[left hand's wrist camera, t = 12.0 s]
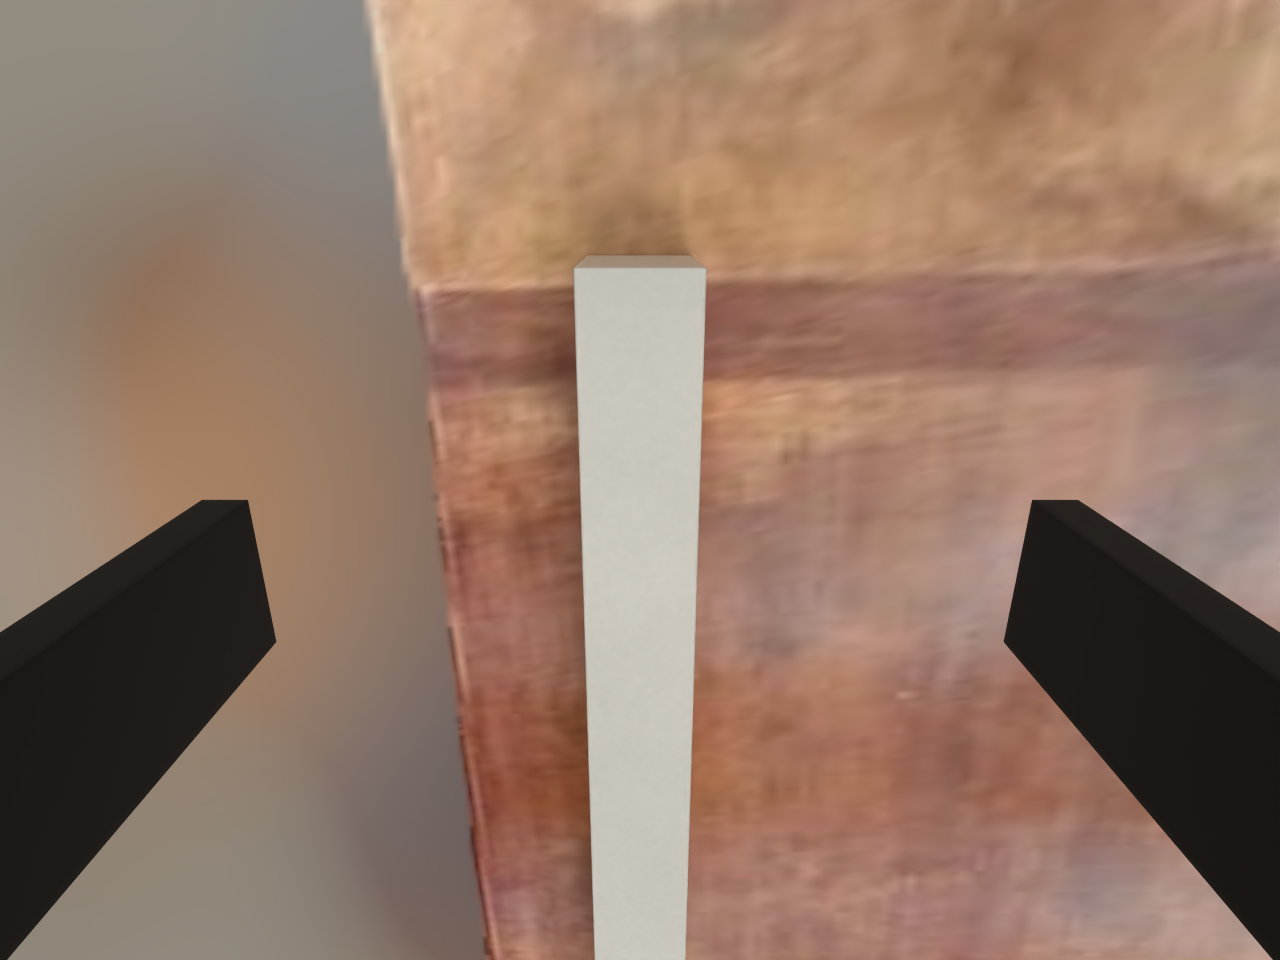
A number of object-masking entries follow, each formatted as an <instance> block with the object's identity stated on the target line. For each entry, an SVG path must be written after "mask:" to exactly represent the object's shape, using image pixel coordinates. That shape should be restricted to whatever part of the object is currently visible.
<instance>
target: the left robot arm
mask: <svg viewBox="0 0 1280 960" xmlns="http://www.w3.org/2000/svg"><path fill="white" fill-rule="evenodd" d="M275 643H276V638H275V633H274V628H273V623H272V618H271V613H270V608H269V603H268V598H267V593H266V588H265V583H264V578H263V573H262V568H261V563H260V558H259V553H258V548H257V543H256V538H255V533H254V529H253V523H252V518H251V513H250V508H249V503H248V500H201V501H200V502H198V503H197V504H195V505H194V506H192V507H191V508H189V509H188V510H186V511H184V512H183V513H181V514H180V515H178V516H177V517H175V518H174V519H172V520H171V521H169V522H168V523H166V524H165V525H163V526H162V527H160V528H159V529H157V530H156V531H154V532H152V533H151V534H149V535H148V536H146V537H145V538H143V539H142V540H140V541H139V542H137V543H136V544H134V545H133V546H131V547H130V548H128V549H127V550H125V551H124V552H122V553H120V554H119V555H117V556H116V557H114V558H113V559H111V560H110V561H108V562H107V563H105V564H104V565H102V566H101V567H99V568H98V569H96V570H95V571H93V572H92V573H90V574H89V575H87V576H85V577H84V578H82V579H81V580H79V581H78V582H76V583H75V584H73V585H72V586H70V587H69V588H67V589H66V590H64V591H63V592H61V593H60V594H58V595H57V596H55V597H53V598H52V599H50V600H49V601H47V602H46V603H44V604H43V605H41V606H40V607H38V608H37V609H35V610H34V611H32V612H31V613H29V614H28V615H26V616H24V617H23V618H21V619H20V620H18V621H17V622H15V623H14V624H12V625H11V626H9V627H8V628H6V629H5V630H3V631H2V632H0V960H7V959H8V958H9V957H10V956H11V955H12V953H13V952H14V951H15V950H16V949H17V947H18V946H19V945H20V944H21V943H22V941H23V940H24V939H25V938H26V937H27V936H28V934H29V933H30V932H31V931H32V930H33V929H34V927H35V926H36V925H37V924H38V923H39V921H40V920H41V919H42V918H43V917H44V916H45V914H46V913H47V912H48V911H49V910H50V908H51V907H52V906H53V905H54V904H55V903H56V901H57V900H58V899H59V898H60V897H61V895H62V894H63V893H64V892H65V891H66V890H67V888H68V887H69V886H70V885H71V884H72V882H73V881H74V880H75V879H76V878H77V877H78V875H79V874H80V873H81V872H82V871H83V870H84V868H85V867H86V866H87V865H88V864H89V862H90V861H91V860H92V859H93V858H94V857H95V855H96V854H97V853H98V852H99V851H100V849H101V848H102V847H103V846H104V845H105V844H106V842H107V841H108V840H109V839H110V838H111V836H112V835H113V834H114V833H115V832H116V831H117V829H118V828H119V827H120V826H121V825H122V823H123V822H124V821H125V820H126V819H127V818H128V816H129V815H130V814H131V813H132V812H133V810H134V809H135V808H136V807H137V806H138V805H139V803H140V802H141V801H142V800H143V799H144V798H145V796H146V795H147V794H148V793H149V792H150V790H151V789H152V788H153V787H154V786H155V785H156V783H157V782H158V781H159V780H160V779H161V777H162V776H163V775H164V774H165V773H166V771H167V770H168V769H169V768H170V767H171V766H172V764H173V763H174V762H175V761H176V760H177V758H178V757H179V756H180V755H181V754H182V753H183V751H184V750H185V749H186V748H187V747H188V746H189V744H190V743H191V742H192V741H193V740H194V738H195V737H196V736H197V735H198V734H199V733H200V731H201V730H202V729H203V728H204V727H205V725H206V724H207V723H208V722H209V721H210V719H211V718H212V717H213V716H214V715H215V714H216V713H217V711H218V710H219V709H220V708H221V707H222V705H223V704H224V703H225V702H226V701H227V699H228V698H229V697H230V696H231V695H232V694H233V692H234V691H235V690H236V689H237V688H238V686H239V685H240V684H241V683H242V682H243V681H244V679H245V678H246V677H247V676H248V675H249V674H250V672H251V671H252V670H253V669H254V668H255V666H256V665H257V664H258V663H259V662H260V661H261V659H262V658H263V657H264V656H265V655H266V653H267V652H268V651H269V650H270V649H271V648H272V646H273V645H274V644H275ZM1004 643H1005V644H1006V645H1007V646H1008V648H1009V649H1010V650H1011V651H1012V652H1013V653H1014V655H1015V656H1016V657H1017V658H1018V659H1019V661H1020V662H1021V663H1022V664H1023V665H1024V666H1025V668H1026V669H1027V670H1028V671H1029V672H1030V674H1031V675H1032V676H1033V677H1034V678H1035V679H1036V681H1037V682H1038V683H1039V684H1040V685H1041V687H1042V688H1043V689H1044V690H1045V691H1046V692H1047V694H1048V695H1049V696H1050V697H1051V698H1052V700H1053V701H1054V702H1055V703H1056V704H1057V705H1058V707H1059V708H1060V709H1061V710H1062V711H1063V713H1064V714H1065V715H1066V716H1067V717H1068V718H1069V720H1070V721H1071V722H1072V723H1073V724H1074V725H1075V727H1076V728H1077V729H1078V730H1079V731H1080V733H1081V734H1082V735H1083V736H1084V737H1085V738H1086V740H1087V741H1088V742H1089V743H1090V744H1091V746H1092V747H1093V748H1094V749H1095V750H1096V751H1097V753H1098V754H1099V755H1100V756H1101V757H1102V759H1103V760H1104V761H1105V762H1106V763H1107V764H1108V766H1109V767H1110V768H1111V769H1112V770H1113V772H1114V773H1115V774H1116V775H1117V776H1118V777H1119V779H1120V780H1121V781H1122V782H1123V783H1124V785H1125V786H1126V787H1127V788H1128V789H1129V790H1130V792H1131V793H1132V794H1133V795H1134V796H1135V798H1136V799H1137V800H1138V801H1139V802H1140V803H1141V805H1142V806H1143V807H1144V808H1145V809H1146V810H1147V812H1148V813H1149V814H1150V815H1151V816H1152V818H1153V819H1154V820H1155V821H1156V822H1157V823H1158V825H1159V826H1160V827H1161V828H1162V829H1163V831H1164V832H1165V833H1166V834H1167V835H1168V836H1169V838H1170V839H1171V840H1172V841H1173V842H1174V844H1175V845H1176V846H1177V847H1178V848H1179V849H1180V851H1181V852H1182V853H1183V854H1184V855H1185V857H1186V858H1187V859H1188V860H1189V861H1190V862H1191V864H1192V865H1193V866H1194V867H1195V868H1196V870H1197V871H1198V872H1199V873H1200V874H1201V875H1202V877H1203V878H1204V879H1205V880H1206V881H1207V883H1208V884H1209V885H1210V886H1211V887H1212V888H1213V890H1214V891H1215V892H1216V893H1217V894H1218V895H1219V897H1220V898H1221V899H1222V900H1223V901H1224V903H1225V904H1226V905H1227V906H1228V907H1229V908H1230V910H1231V911H1232V912H1233V913H1234V914H1235V916H1236V917H1237V918H1238V919H1239V920H1240V921H1241V923H1242V924H1243V925H1244V926H1245V927H1246V929H1247V930H1248V931H1249V932H1250V933H1251V934H1252V936H1253V937H1254V938H1255V939H1256V940H1257V942H1258V943H1259V944H1260V945H1261V946H1262V947H1263V949H1264V950H1265V951H1266V952H1267V953H1268V955H1269V956H1270V957H1271V958H1272V959H1273V960H1280V632H1278V631H1277V630H1275V629H1274V628H1272V627H1271V626H1269V625H1268V624H1266V623H1265V622H1263V621H1262V620H1260V619H1259V618H1257V617H1256V616H1254V615H1252V614H1251V613H1249V612H1248V611H1246V610H1245V609H1243V608H1242V607H1240V606H1239V605H1237V604H1236V603H1234V602H1233V601H1231V600H1230V599H1228V598H1227V597H1225V596H1224V595H1222V594H1220V593H1219V592H1217V591H1216V590H1214V589H1213V588H1211V587H1210V586H1208V585H1207V584H1205V583H1204V582H1202V581H1201V580H1199V579H1198V578H1196V577H1195V576H1193V575H1192V574H1190V573H1188V572H1187V571H1185V570H1184V569H1182V568H1181V567H1179V566H1178V565H1176V564H1175V563H1173V562H1172V561H1170V560H1169V559H1167V558H1166V557H1164V556H1163V555H1161V554H1160V553H1158V552H1156V551H1155V550H1153V549H1152V548H1150V547H1149V546H1147V545H1146V544H1144V543H1143V542H1141V541H1140V540H1138V539H1137V538H1135V537H1134V536H1132V535H1131V534H1129V533H1128V532H1126V531H1124V530H1123V529H1121V528H1120V527H1118V526H1117V525H1115V524H1114V523H1112V522H1111V521H1109V520H1108V519H1106V518H1105V517H1103V516H1102V515H1100V514H1099V513H1097V512H1096V511H1094V510H1092V509H1091V508H1089V507H1088V506H1086V505H1085V504H1083V503H1082V502H1080V501H1079V500H1032V503H1031V508H1030V513H1029V518H1028V523H1027V528H1026V533H1025V538H1024V543H1023V548H1022V553H1021V558H1020V563H1019V568H1018V573H1017V578H1016V583H1015V588H1014V593H1013V598H1012V603H1011V608H1010V613H1009V618H1008V623H1007V628H1006V633H1005V638H1004Z"/></svg>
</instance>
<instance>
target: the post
mask: <svg viewBox="0 0 1280 960" xmlns="http://www.w3.org/2000/svg"><path fill="white" fill-rule="evenodd" d="M706 270H707V269H706V268H705V267H704V266H703V265H702V264H701V263H699V262H698V261H697V260H696V259H695V258H693V257H692V256H691V255H587V256H586V257H585V258H584V259H583V260H582V261H581V262H580V263H579V264H577V265H576V266H575V267H574V269H573V277H574V309H575V341H576V374H577V406H578V438H579V471H580V503H581V535H582V568H583V600H584V632H585V664H586V697H587V729H588V761H589V794H590V826H591V858H592V891H593V923H594V955H595V960H685V954H686V921H687V889H688V856H689V824H690V791H691V759H692V726H693V693H694V661H695V628H696V596H697V563H698V531H699V498H700V466H701V433H702V401H703V368H704V335H705V303H706Z"/></svg>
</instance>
